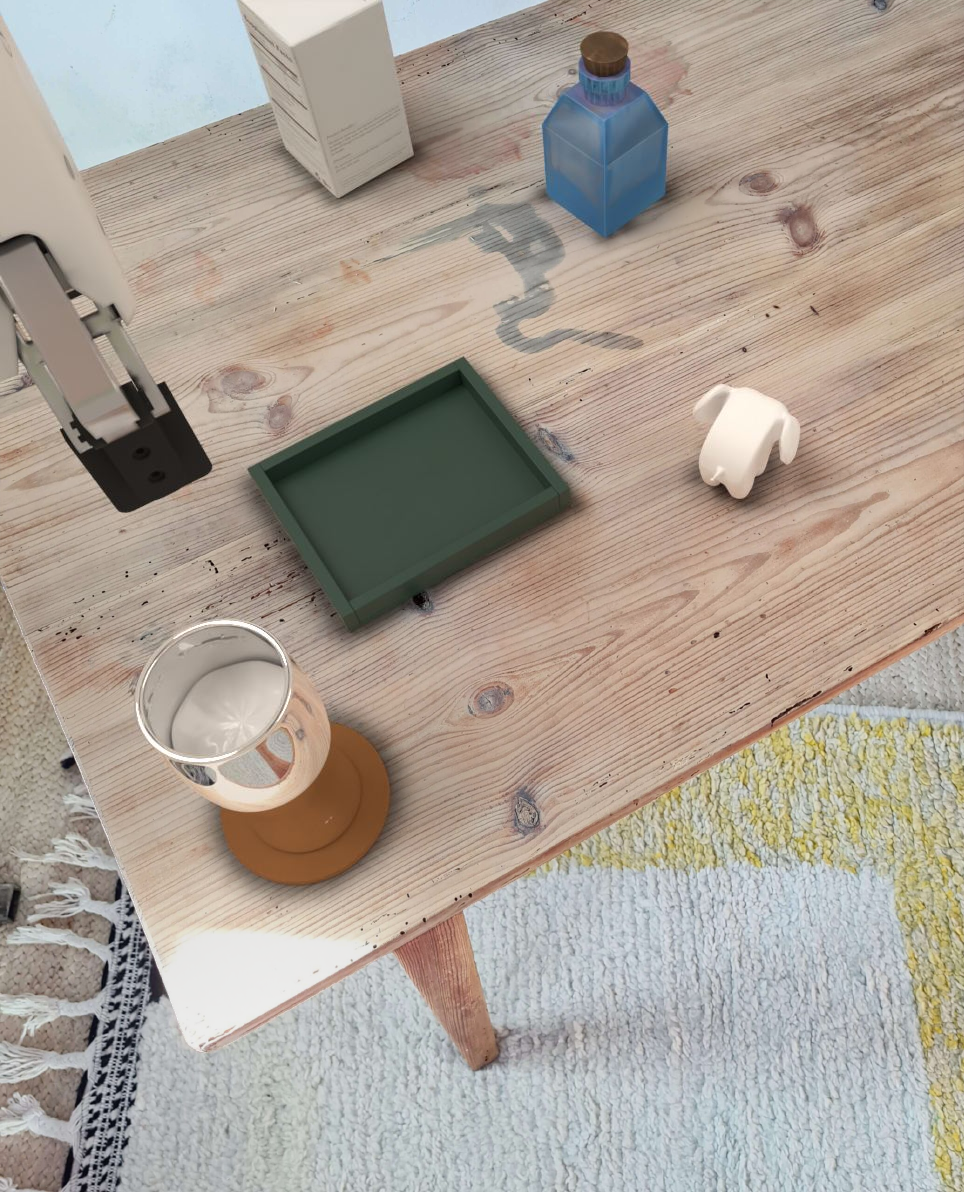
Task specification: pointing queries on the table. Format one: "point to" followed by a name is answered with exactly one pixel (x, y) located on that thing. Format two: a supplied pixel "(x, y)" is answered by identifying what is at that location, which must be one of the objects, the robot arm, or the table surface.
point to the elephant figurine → (742, 436)
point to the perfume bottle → (605, 140)
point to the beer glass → (248, 732)
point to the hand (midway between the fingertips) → (111, 386)
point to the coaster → (338, 852)
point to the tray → (408, 491)
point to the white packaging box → (331, 86)
